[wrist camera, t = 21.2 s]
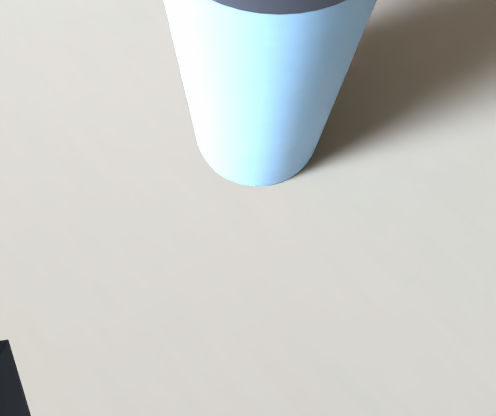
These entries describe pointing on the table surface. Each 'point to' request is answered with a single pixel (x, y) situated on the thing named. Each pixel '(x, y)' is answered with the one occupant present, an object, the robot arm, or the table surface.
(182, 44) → the canister
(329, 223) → the table surface
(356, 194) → the table surface
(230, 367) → the table surface
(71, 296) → the table surface
